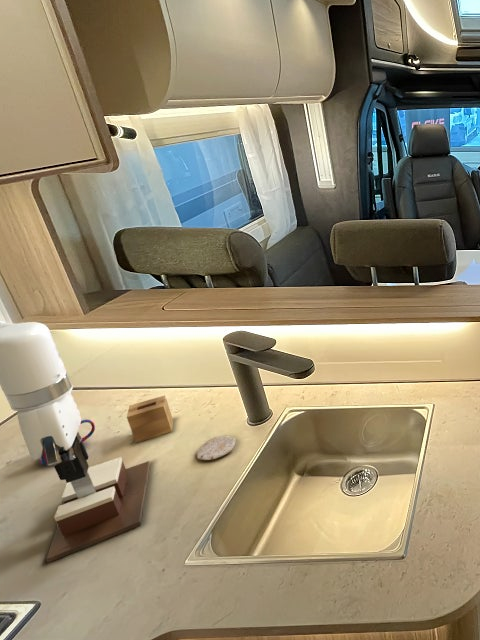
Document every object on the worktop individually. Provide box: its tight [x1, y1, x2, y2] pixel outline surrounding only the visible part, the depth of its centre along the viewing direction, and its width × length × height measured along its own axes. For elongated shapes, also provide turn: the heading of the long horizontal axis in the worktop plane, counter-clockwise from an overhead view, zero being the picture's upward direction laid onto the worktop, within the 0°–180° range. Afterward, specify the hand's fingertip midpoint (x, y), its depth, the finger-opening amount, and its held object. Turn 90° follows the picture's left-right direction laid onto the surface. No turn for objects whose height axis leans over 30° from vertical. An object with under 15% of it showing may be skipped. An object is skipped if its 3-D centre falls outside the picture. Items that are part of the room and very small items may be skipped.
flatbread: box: [196, 435, 237, 461], centre depth 100 cm, size 8×8×1 cm
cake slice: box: [54, 486, 121, 536], centre depth 81 cm, size 8×3×5 cm, turn 125°
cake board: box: [45, 460, 151, 564], centre depth 85 cm, size 13×18×1 cm
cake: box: [61, 456, 128, 504], centre depth 87 cm, size 8×7×5 cm
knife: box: [59, 439, 97, 499], centre depth 80 cm, size 3×3×17 cm
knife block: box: [126, 395, 174, 444], centre depth 104 cm, size 7×5×8 cm
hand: (75, 468), depth 79 cm, fingers closed on knife, 3 cm apart
